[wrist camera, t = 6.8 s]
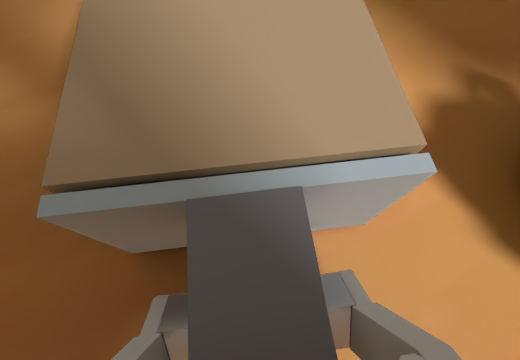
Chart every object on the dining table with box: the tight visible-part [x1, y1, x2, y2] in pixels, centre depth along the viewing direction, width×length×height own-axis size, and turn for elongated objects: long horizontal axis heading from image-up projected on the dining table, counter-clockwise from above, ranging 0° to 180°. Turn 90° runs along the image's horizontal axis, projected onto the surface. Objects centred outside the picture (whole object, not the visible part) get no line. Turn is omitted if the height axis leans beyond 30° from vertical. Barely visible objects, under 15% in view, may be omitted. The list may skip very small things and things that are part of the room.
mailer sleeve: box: [41, 0, 427, 194], centre depth 17 cm, size 18×14×8 cm
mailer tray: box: [36, 153, 437, 360], centre depth 15 cm, size 25×14×8 cm, turn 7°
